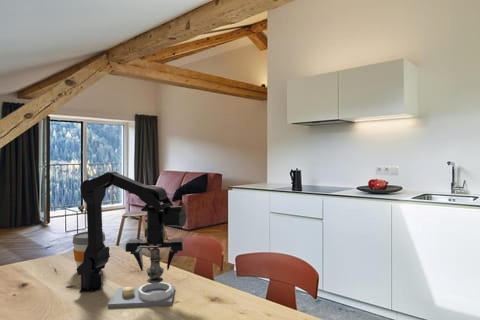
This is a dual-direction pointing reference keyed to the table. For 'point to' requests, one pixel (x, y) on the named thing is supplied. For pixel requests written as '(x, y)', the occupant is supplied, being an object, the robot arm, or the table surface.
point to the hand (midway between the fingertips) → (155, 270)
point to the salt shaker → (155, 267)
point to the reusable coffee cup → (81, 246)
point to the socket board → (137, 300)
